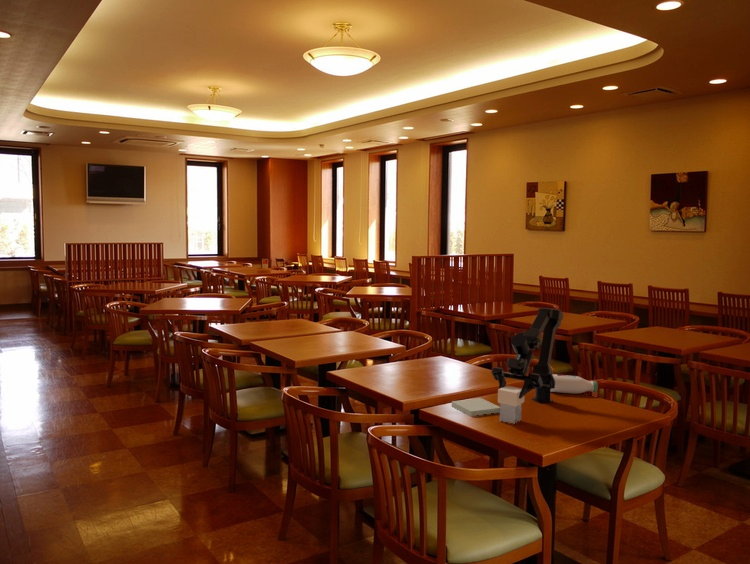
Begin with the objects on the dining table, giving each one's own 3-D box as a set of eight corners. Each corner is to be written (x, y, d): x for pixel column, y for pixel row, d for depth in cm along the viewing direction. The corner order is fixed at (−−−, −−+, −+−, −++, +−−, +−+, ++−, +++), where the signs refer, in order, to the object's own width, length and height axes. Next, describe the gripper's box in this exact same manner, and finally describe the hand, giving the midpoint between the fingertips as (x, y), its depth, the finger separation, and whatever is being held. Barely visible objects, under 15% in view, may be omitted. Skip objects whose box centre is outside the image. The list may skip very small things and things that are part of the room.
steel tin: (505, 417, 233) (506, 396, 232) (520, 420, 229) (521, 399, 228) (499, 421, 228) (500, 400, 227) (514, 424, 224) (515, 403, 224)
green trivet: (480, 402, 251) (480, 398, 251) (501, 412, 238) (501, 407, 238) (451, 406, 245) (451, 401, 245) (471, 416, 233) (471, 411, 232)
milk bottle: (549, 395, 270) (595, 399, 267) (551, 384, 265) (599, 388, 262) (548, 381, 275) (593, 385, 273) (550, 370, 270) (597, 374, 267)
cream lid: (505, 398, 233) (506, 385, 232) (524, 401, 229) (524, 388, 228) (497, 402, 227) (498, 389, 226) (516, 406, 223) (516, 393, 222)
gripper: (494, 346, 234) (480, 380, 227) (541, 353, 224) (528, 388, 216) (501, 362, 242) (488, 396, 234) (547, 370, 231) (535, 405, 223)
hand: (509, 396), depth 226 cm, fingers closed on cream lid, 7 cm apart
